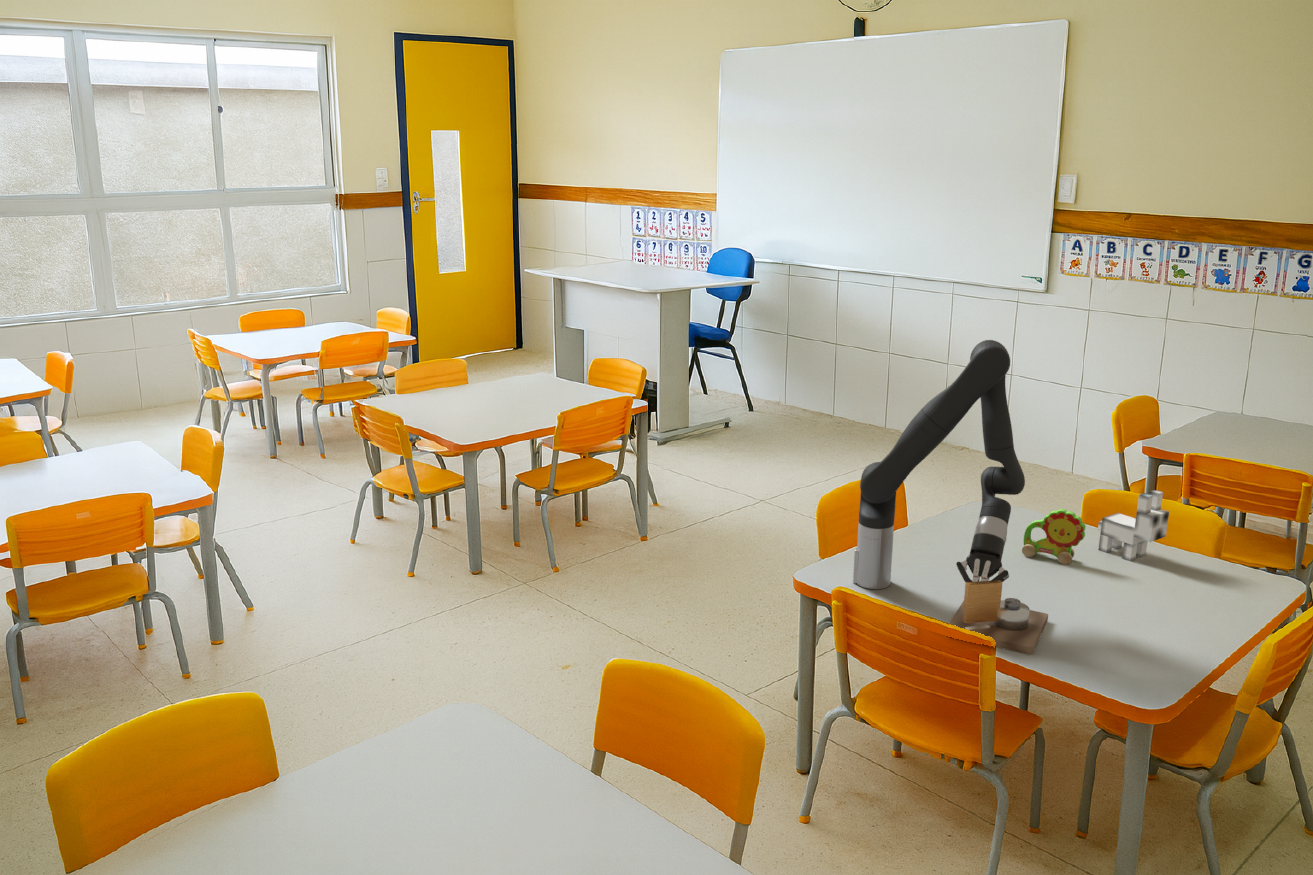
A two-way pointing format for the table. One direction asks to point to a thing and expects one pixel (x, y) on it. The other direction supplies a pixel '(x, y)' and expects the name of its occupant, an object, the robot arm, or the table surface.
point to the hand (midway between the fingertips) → (975, 602)
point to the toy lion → (1056, 535)
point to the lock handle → (993, 606)
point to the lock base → (1008, 631)
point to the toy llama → (1135, 527)
